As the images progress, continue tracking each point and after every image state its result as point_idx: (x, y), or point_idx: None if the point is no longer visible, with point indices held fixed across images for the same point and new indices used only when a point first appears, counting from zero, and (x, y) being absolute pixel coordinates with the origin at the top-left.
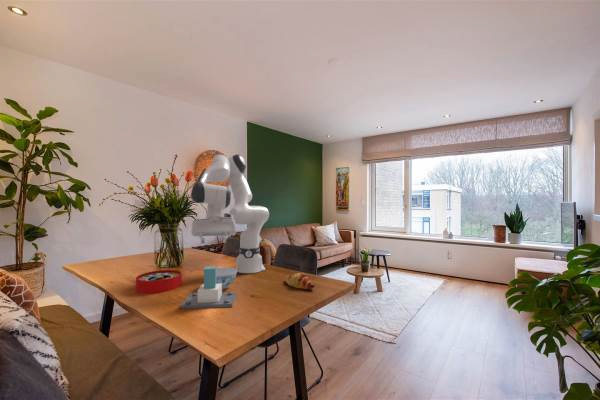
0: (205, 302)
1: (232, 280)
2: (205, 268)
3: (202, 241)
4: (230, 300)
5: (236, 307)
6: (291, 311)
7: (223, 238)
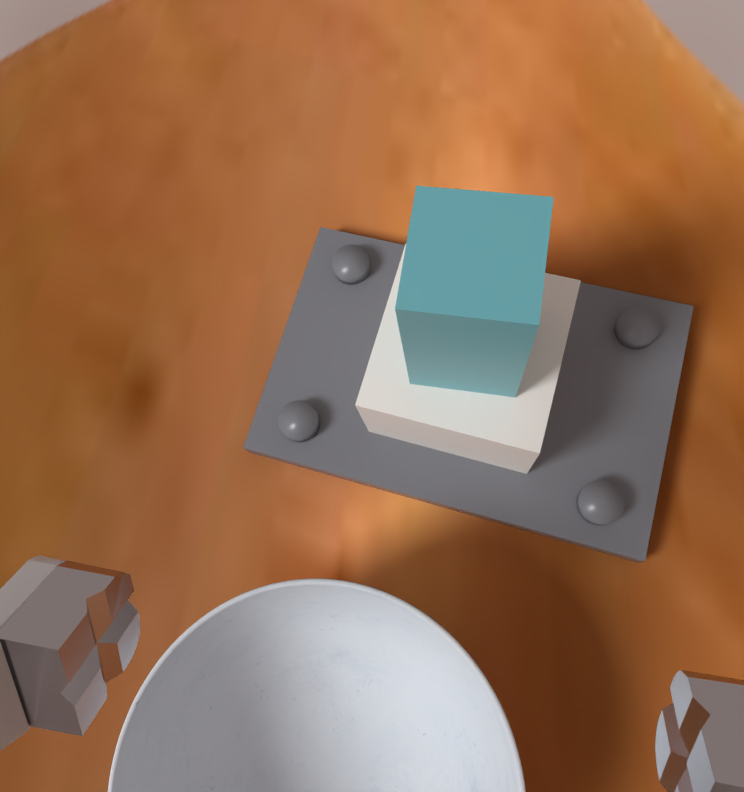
0: None
1: (220, 658)
2: (534, 229)
3: (736, 681)
4: (320, 291)
5: (299, 222)
6: (25, 83)
7: (52, 614)
